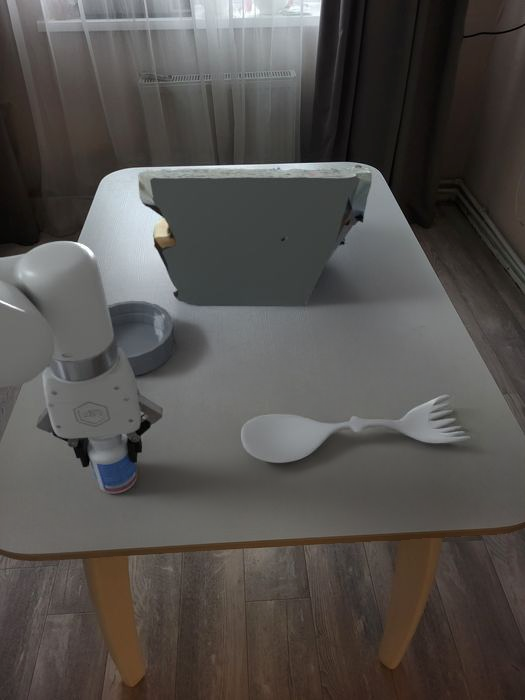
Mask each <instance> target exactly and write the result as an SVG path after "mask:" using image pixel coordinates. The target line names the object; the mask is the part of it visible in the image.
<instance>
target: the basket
mask: <svg viewBox="0 0 525 700" xmlns="http://www.w3.org/2000/svg"><path fill="white" fill-rule="evenodd" d="M372 174H373V173H372V168H370V167H363V166H362V165H359V164H357V165H355V166H354V167H347V168H332V167H331V168H322V169H320V168H317V169H304V168H287V169H283V168H280V167H279V166H278V167H277V168H244V167H243V168H233V167H231V168H230V167H223V168H222V167H214V168H212V167H211V168H209V167H207V168H203V167H202V168H201V167H200V168H195V167H194V168H191V167H190V168H186V167H185V168H162V169H144V170H141V171H139V172H138V174H137V178H138V195H139V199H140V201H141V204H143V205H144V207H147V208H149V209H151V210H152V211H153V212H155V213H156V214H158V215H159V216H160V217H161V218H160V219H158V221H157V222H156V224H155V225H154V228H153V231H152V232H153V234H152V237H153V243H154V244H153V247H154V249H155V250H157V253H158V255H159V257H160V259H161V261H162V263H163V265H164V267H165V270H166V273H167V274H168V276H169V279H170V281H171V283H172V285H173V286H174V288H175V289H176V290H175V291H173V292H172V294H173V296H174V298H175V299H176V300H177V301H178V302H182V303H188V304H190V305H195V306H201V307H203V306H206V307H208V306H211V307H212V306H218V307H222V306H223V307H224V306H226V307H306V306H307V303H308V301H309V299H310V297H311V295H312V292H313V290H314V289H315V286H316V285H317V283H318V280H319V279H320V276H321V274H322V272H323V271H324V268H325V266H326V264H327V262H328V261H329V260H330V259H331V257H332V256H333V254H334V253H335V252H336V250H337V249H338V248H339V246H342V245H343V246H344V245H345V244H346V242H345V241H346V239H345V238H346V236H347V235H348V233H349V232H350V231H351V229H352V228H353V227H354V226H355V225H356V224H357V223H358V222H360V223H362V224H363V223H364V218H365V211H366V207H367V203H368V197H369V194H370V192H371V191H370V190H371V187H372V182H373V181H372V180H373V175H372Z"/></svg>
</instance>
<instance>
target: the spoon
mask: <svg viewBox="0 0 525 700" xmlns="http://www.w3.org/2000/svg"><path fill="white" fill-rule="evenodd" d="M450 398H451V395H450V394H443V395H440V396H438V397H436V398H433V399H431V400H429V401H426V402H424V403H422V404H420V405H417V406H415V407H413V408H412V409H411V410H409V411H408V412H407V413H406V414H405V415H404V416H403V417H402V418H400V419H387V418H362V417H359V416H357V415H352V416H350V418H349V420H348V421H343V422H336V423H327V422H322V421H319V420H315V419H311V418H308V417H305V416H301V415H296V414H290V413H289V414H287V413H272V414H271V413H268V414H262V415H258V416H255V417H253V418H250V419H249V420H247V421H246V422H245V423H244V424H243V426H242V427H241V431H240V441H241V445H242V447H243V449H244V450H245V451H246V453H248V454H249V455H250V456H252V457H253V458H256V459H258V460H260V461H264V462H268V463H275V464H283V463H290V462H295V461H298V460H301V459H303V458H306V457H307V456H309V455H311V454H312V453H314V452H315V451H316V450H317V449H318V448H319V447H320V446H321V445H322V444H323V443H324V442H325V441H326V440H327V439H328V438H329V437H330V436H331V435H334V434H335V433H337V432H339V431H344V430H351V431H353V432H354V433H355V434H361V433H363V432H364V430H366V429H371V428H384V429H390V430H393V431H396V432H398V433H400V434H402V435H405V436H406V437H409V438H411V439H413V440H415V441H418V442H421V443H425V444H426V443H427V444H457V443H458V444H459V443H465V442H468V441H470V440H471V439H472V437H471V436H468V435H466V436H462V435H464V434H466V431H465V430H464V431H461V430H460V429H461V428H462V426H461V425H455V426H450V427H446V426H449V425H451V424H453V423H454V422H456V421H457V418H455V417H452V418H451V417H450V418H444V419H443V418H442V417H445V416H448V415H449V414H451V413H452V412H454V410H453V409H447V410H444V409H446V408H448V407H450V406H451V405H452V403H450V402H447V403H443V402H445V401H448V400H449V399H450ZM441 418H442V419H441ZM457 430H459V431H457Z"/></svg>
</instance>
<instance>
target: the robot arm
mask: <svg viewBox="0 0 525 700" xmlns="http://www.w3.org/2000/svg"><path fill="white" fill-rule="evenodd" d="M104 287H105V286H104V283H103V278H102V274H101V269H100V264H99V262H98V259H97V257H96V255H95V254H94V252H93V251H92V249H90V248H89V247H88V246H86V245H84V244H82V243H80V242H75V241H69V240H59V241H51V242H47V243H43V244H41V245H38V246H36V247H33V248H32V249H31V250H29V251H27V252H26V253H22V254H17V255H11V256H4V257H0V388H10V387H16V386H21V385H23V384H26V383H29V382H30V381H33V380H34V379H36V378H37V377H38V376H40V375H41V376H42V378H41V379H42V386H43V393H44V399H45V403H46V408H45V410H43V412H42V413H41V414H40V415H39V417H38V418H37V421H36V428H37V429H39V430H42V431H44V432H46V433H48V434H50V433H52V436H54V437H56V438H57V439H60V440H62V441H64V442H67V446H68V447H70V448H72V449H73V452H74V455H75V457H76V459H79V460H80V463H81V466H82V468H88V467H89V466H90V464H91V462H90V459H89V456H88V452H87V445H88V443H89V437H99V436H110V435H120V434H126V435H127V447H128V451H129V456H130V460H131V462H133V463H135V464H136V463H138V455H139V454H142V453H143V441H142V437H141V436H142V435H143V434H145V433H146V432H147V431H148V430H150V429H151V426H152V425H154V424H156V423H157V422H159V420H161V419H162V418H163V411H164V410H163V407H161V405H159V404H156V403H155V402H153V401H151V399H149V398H148V397H146V396H144V395H142V394H141V392H140V388H139V384H138V381H137V378H136V375H134V373H133V370H132V368H131V365H130V363H129V361H128V359H127V357H126V355H125V353H124V352H123V350H122V349H121V348H119V347H117V344H116V340H115V336H114V331H113V327H112V322H111V318H110V313H109V309H108V305H109V304H108V300H107V297H106V292H105V288H104ZM142 413H143V414H142Z"/></svg>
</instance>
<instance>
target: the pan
mask: <svg viewBox="0 0 525 700" xmlns="http://www.w3.org/2000/svg"><path fill="white" fill-rule="evenodd" d="M108 309H109V313H110V318H111V322H112V327H113V331H114V336H115V340H116V344H117V347H119V348H121V349H122V350H123V352H124V353H125V355H126V357H127V359H128V361H129V363H130V365H131V368H132V370H133V373H134V375H135V376H139V375H143V374H146V373H148V372H151V371H154V370H155V369H157V368H159V367H160V366H161V365H163V364H164V363H166V362H167V361H168V359H169V358H170V357H171V356H172V354H173V353H174V350H175V347H176V344H177V343H176V335H175V328H174V322H173V317H172V316H171V315H170V313H169V311H168V310H167V309H165V308H164V307H162V306H160V305H159V304H157V303H153V302H149V301H145V300H125V301H118V302H115V303H111V304H108Z"/></svg>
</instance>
